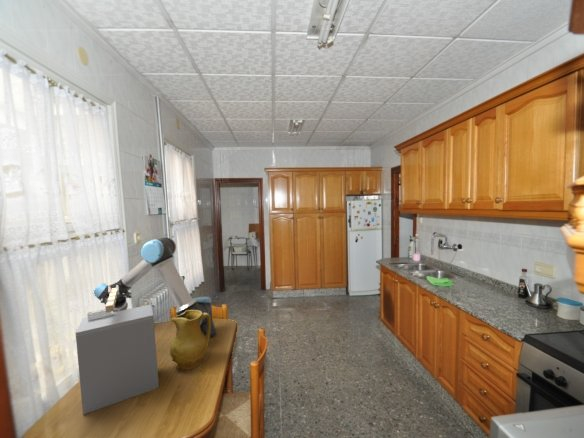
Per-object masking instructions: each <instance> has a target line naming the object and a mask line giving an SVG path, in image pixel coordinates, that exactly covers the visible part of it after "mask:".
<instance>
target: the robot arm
mask: <svg viewBox="0 0 584 438" xmlns="http://www.w3.org/2000/svg"><path fill="white" fill-rule="evenodd" d="M176 250H177V244H176V242H175V241H174V240H173V238H170V237H161V238H155V239H154V238H153V239H152V240H150V241H147V242H145V243H143V246H142V248H141V250H140V255H141V258H142V260H141V261H140V262H139V263H138V264H136V266H134V267H133V268H132V269H131V270H129V271H128V272H127V273H126V274H125V275H124V276H123V277H121V279H119V280H118V281H117V282H114V283H112V284H110V285H108V284H107V283H100V284H99V285H97V286H96V287H95V288H94V289H95V290H94V289H93V291H94V294H95V295H94V294H93V295H94V297H95V298H96V299H97V300H99V301H100V303H101V304H104V305H105V306H106V303H107V301H108V298H109V295H110V292H111V289H112V288H116V291H117V298H116V302H115V307H114V311H112V312H117V311H122V310H126V309H128V306H129V304H128V301H127V299H131V298H132V292H130V290H131V289H132V287H133V286H134V285H135V284H137V282H139V281H140V280H141V279H142V278H143V277H144V276H146V275H147V274H148V273H149V272H151V271H152V269H156V270H157V272H158V273H159V276H160V277H161V279H162V281H163V284H164V285H165V287H166V289H167V291H168V293H169V295H170V297H171V299H172V300H173V302H174V305H175V307H176V309H175V314H176V316H179V315H181V314H183V313H184V312H185V311H186V310H199V311H201V312H202V313H208V314H209V315H210V317H211V330H210V331H211V332H210V339H212V338H213V337H215V336H216V334H217V328H216V326H215V323H214V322H213V308H212V307H213V305H212V299H211V297H210V296H198V297H194V298H192V296H191V294H190V292H189V290H188V288H187V287H186V284H185V283H184V281H183V279H182V277H181V275H180V273H179V271H178V269H177V267H176V265H175V264H174V258H175V256H174V254H175V252H176ZM207 323H208V320H207V318H206V317H204V318H203V319H202V320H201V322H200V328H201V331H202V332H203V334H204V335H206V332H207Z"/></svg>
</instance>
